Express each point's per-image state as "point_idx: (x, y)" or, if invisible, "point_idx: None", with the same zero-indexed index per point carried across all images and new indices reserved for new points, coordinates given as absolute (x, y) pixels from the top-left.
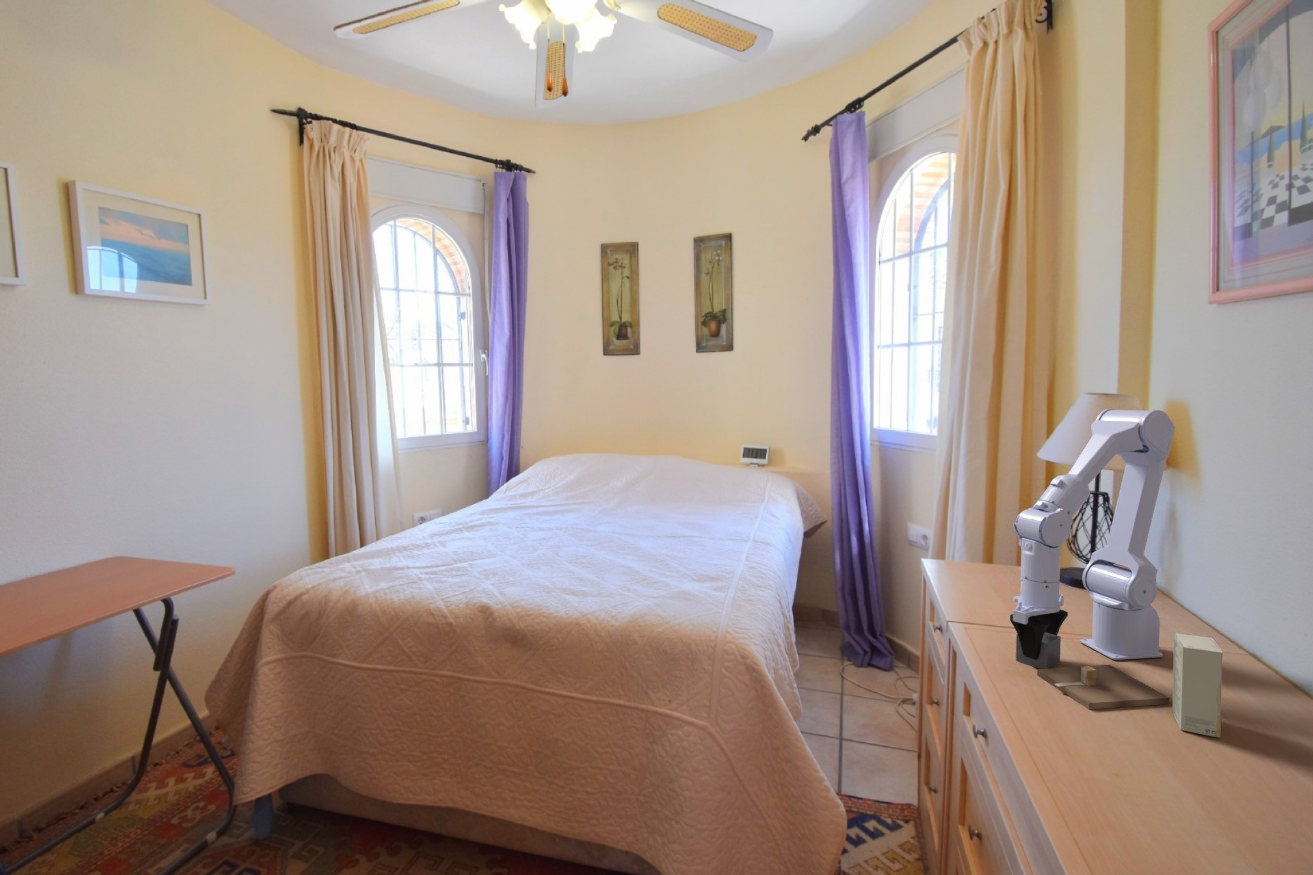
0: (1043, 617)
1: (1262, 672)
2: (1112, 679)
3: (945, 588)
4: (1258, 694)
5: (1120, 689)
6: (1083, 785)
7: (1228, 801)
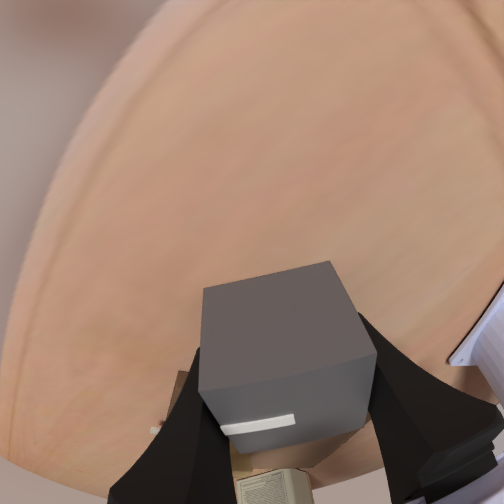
0: (399, 454)
1: None
2: None
3: None
4: None
5: (270, 455)
6: (40, 459)
7: None
